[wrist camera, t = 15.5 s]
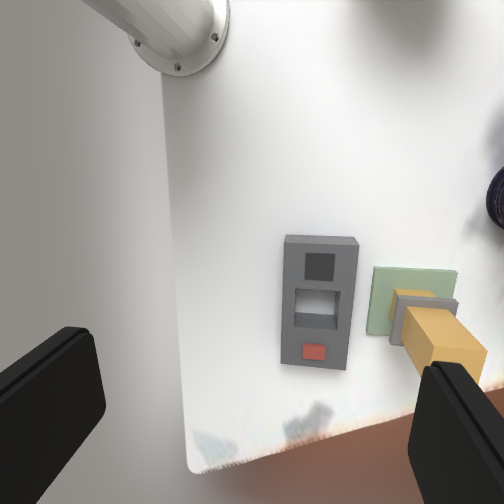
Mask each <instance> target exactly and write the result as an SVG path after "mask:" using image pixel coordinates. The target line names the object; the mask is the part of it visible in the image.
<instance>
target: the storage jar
mask: <svg viewBox="0 0 504 504" xmlns="http://www.w3.org/2000/svg"><path fill="white" fill-rule="evenodd" d="M486 206H487V211H488V213H489V216H490V217H491V219H492V220H493V221H494V222H495V223H496V224H497V225H498V226H499V227H501V228H502V229H504V167H502V168H501V169H500V171H499V172H498V173H497V174H496V175H495V177H494V178H493V180H492V182H491V183H490V185H489V188H488V191H487V196H486Z"/></svg>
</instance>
